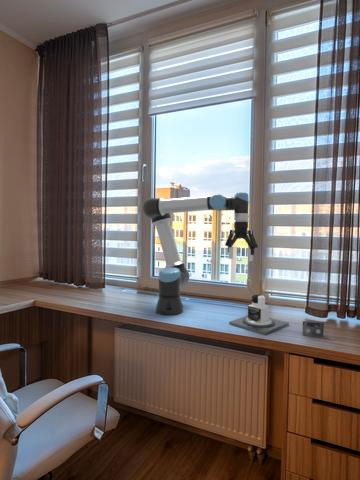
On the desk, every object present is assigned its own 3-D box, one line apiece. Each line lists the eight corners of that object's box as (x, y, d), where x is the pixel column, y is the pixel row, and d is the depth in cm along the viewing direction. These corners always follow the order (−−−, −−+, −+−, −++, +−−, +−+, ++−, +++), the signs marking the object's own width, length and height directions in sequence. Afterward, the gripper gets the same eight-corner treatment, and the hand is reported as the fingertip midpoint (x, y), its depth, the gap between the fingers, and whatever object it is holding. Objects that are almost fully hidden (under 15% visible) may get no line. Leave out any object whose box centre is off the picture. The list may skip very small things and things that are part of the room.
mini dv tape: (322, 335, 135) (323, 322, 135) (323, 337, 133) (323, 323, 133) (302, 334, 137) (302, 320, 137) (302, 335, 136) (303, 321, 135)
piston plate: (229, 324, 150) (229, 319, 150) (253, 315, 164) (253, 311, 163) (265, 335, 135) (265, 330, 135) (288, 325, 149) (288, 320, 149)
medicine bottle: (247, 319, 150) (247, 295, 149) (256, 316, 155) (256, 292, 154) (260, 323, 144) (260, 297, 144) (268, 320, 149) (269, 295, 149)
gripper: (219, 221, 177) (218, 258, 178) (256, 221, 158) (255, 262, 159) (227, 221, 182) (227, 257, 183) (264, 221, 163) (264, 261, 164)
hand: (240, 259), depth 171 cm, fingers open, 13 cm apart
